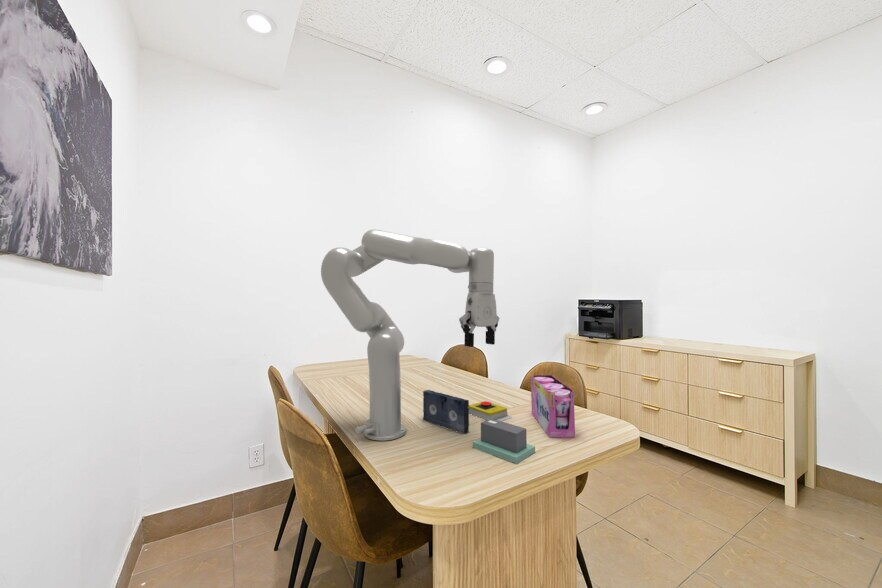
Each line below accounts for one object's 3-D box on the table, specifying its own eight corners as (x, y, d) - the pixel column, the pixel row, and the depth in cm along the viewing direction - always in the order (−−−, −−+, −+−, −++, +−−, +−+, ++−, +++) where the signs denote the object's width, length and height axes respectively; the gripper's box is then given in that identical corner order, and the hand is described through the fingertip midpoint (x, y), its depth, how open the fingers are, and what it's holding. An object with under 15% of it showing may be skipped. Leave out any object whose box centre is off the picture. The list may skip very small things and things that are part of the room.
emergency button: (482, 396, 131) (513, 406, 119) (482, 408, 131) (513, 418, 119) (464, 401, 125) (494, 411, 113) (464, 413, 125) (494, 425, 113)
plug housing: (516, 453, 88) (516, 433, 88) (480, 440, 96) (480, 422, 96) (526, 447, 91) (526, 428, 91) (491, 435, 99) (491, 417, 99)
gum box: (577, 439, 100) (577, 392, 100) (550, 439, 100) (549, 392, 100) (552, 412, 124) (552, 374, 124) (530, 412, 124) (530, 374, 124)
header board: (516, 463, 85) (516, 445, 85) (472, 447, 95) (472, 430, 95) (535, 452, 92) (534, 435, 92) (492, 437, 102) (492, 422, 102)
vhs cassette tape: (469, 432, 106) (469, 399, 106) (463, 435, 104) (462, 401, 104) (429, 418, 119) (429, 389, 120) (422, 420, 117) (422, 391, 117)
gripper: (470, 288, 97) (469, 349, 97) (508, 290, 109) (507, 344, 108) (452, 288, 102) (451, 346, 102) (489, 290, 114) (488, 342, 114)
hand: (479, 345), depth 105 cm, fingers open, 9 cm apart
